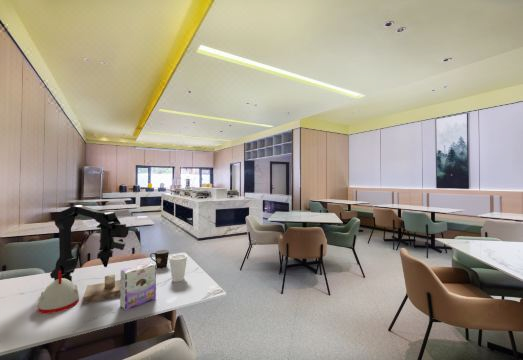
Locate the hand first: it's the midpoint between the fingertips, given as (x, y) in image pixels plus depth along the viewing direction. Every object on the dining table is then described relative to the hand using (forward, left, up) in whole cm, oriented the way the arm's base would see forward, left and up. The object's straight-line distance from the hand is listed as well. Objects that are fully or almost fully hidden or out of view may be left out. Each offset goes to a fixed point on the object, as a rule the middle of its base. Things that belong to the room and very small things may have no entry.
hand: (105, 266), depth 122 cm
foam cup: (+35, -4, -12) cm, 37 cm away
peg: (+2, -4, -12) cm, 13 cm away
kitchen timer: (-17, -7, -12) cm, 22 cm away
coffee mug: (+29, +24, -12) cm, 40 cm away
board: (0, -4, -12) cm, 13 cm away
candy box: (+14, -22, -12) cm, 29 cm away
